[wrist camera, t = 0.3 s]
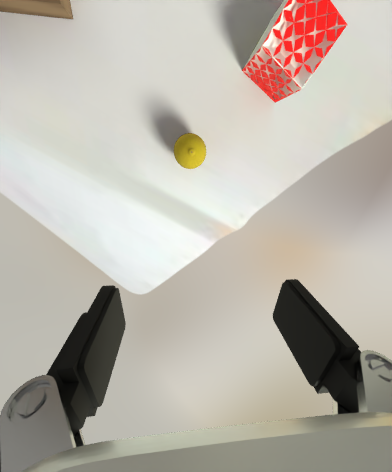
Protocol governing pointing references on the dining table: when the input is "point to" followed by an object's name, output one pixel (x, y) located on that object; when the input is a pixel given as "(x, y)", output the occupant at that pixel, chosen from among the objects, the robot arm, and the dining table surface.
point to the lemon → (190, 151)
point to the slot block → (38, 7)
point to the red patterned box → (294, 46)
